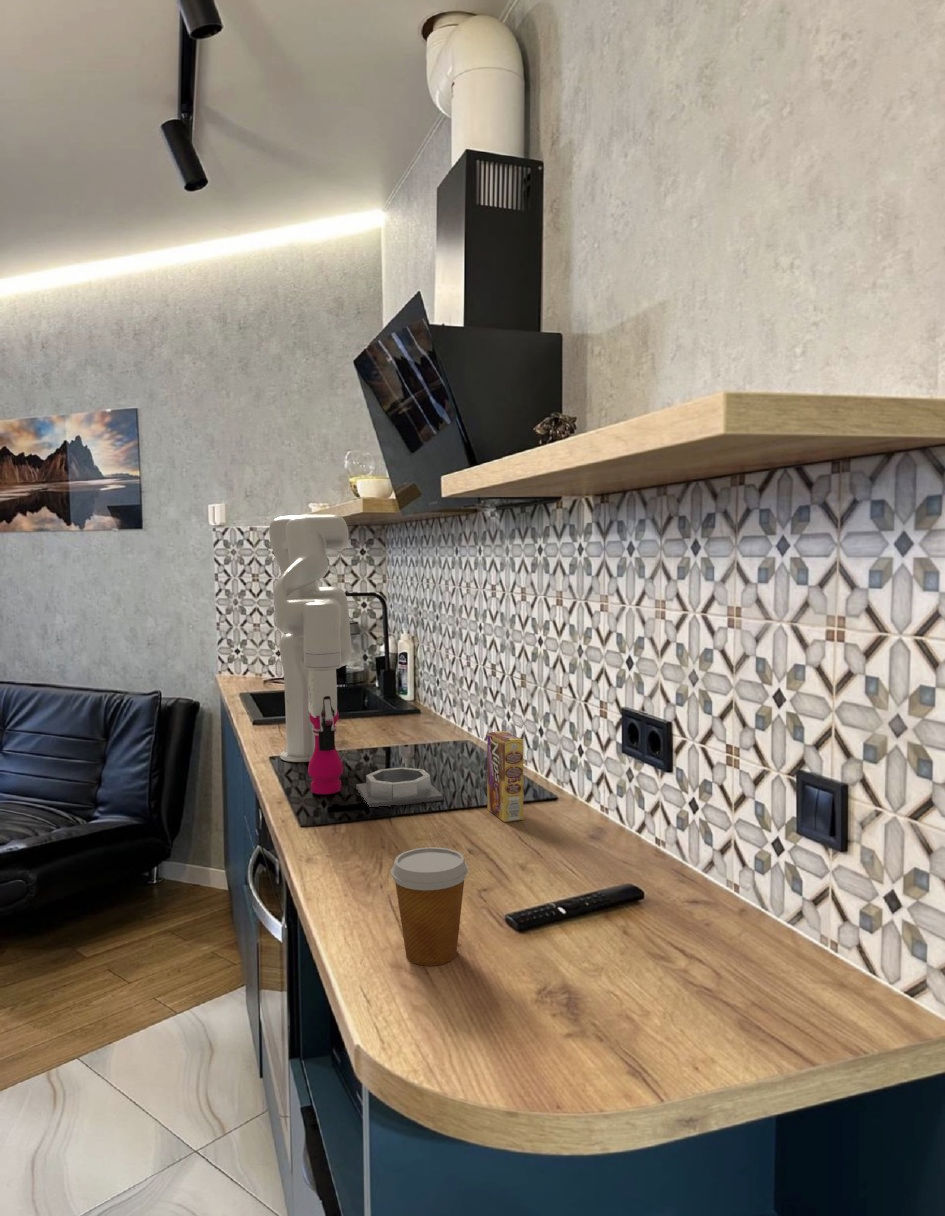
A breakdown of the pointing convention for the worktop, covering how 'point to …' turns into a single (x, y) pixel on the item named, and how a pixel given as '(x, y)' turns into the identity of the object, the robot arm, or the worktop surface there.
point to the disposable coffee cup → (430, 902)
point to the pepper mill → (324, 763)
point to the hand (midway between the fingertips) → (324, 746)
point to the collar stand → (398, 787)
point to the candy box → (505, 775)
